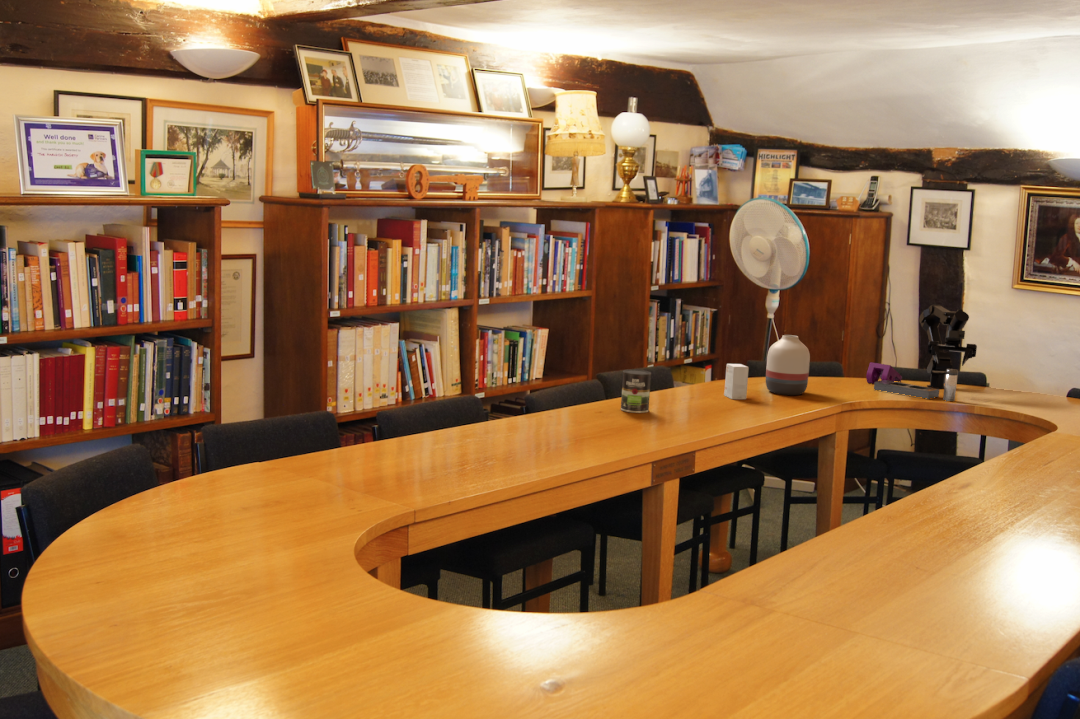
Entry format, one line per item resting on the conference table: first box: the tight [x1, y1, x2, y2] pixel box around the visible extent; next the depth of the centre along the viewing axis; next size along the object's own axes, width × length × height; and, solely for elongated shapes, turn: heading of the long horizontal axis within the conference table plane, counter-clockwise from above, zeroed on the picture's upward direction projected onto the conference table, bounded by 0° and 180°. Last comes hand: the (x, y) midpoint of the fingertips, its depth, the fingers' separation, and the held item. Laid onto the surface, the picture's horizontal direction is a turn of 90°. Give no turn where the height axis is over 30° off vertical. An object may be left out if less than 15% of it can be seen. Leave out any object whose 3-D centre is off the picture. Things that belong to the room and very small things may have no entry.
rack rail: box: [873, 380, 940, 400], centre depth 403 cm, size 10×24×4 cm, turn 43°
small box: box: [723, 363, 749, 400], centre depth 376 cm, size 8×6×13 cm
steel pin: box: [942, 368, 959, 402], centre depth 390 cm, size 4×4×13 cm
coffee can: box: [620, 369, 652, 414], centre depth 344 cm, size 10×10×14 cm
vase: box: [765, 334, 811, 396], centre depth 391 cm, size 17×17×24 cm
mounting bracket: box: [865, 362, 903, 385], centre depth 427 cm, size 10×8×18 cm
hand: (950, 364), depth 396 cm, fingers open, 9 cm apart
